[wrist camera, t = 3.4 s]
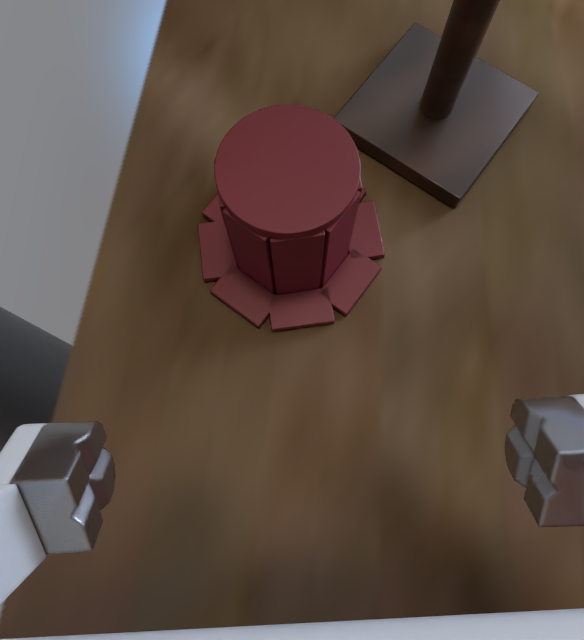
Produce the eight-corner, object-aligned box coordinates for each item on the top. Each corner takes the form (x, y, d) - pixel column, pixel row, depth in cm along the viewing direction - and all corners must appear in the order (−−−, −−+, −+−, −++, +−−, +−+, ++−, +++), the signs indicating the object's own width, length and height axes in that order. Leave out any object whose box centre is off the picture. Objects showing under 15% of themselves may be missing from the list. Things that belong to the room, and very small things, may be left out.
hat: (164, 259, 30) (118, 188, 23) (274, 134, 32) (266, 31, 25) (308, 365, 28) (312, 327, 21) (414, 226, 31) (453, 144, 23)
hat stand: (331, 131, 32) (356, -145, 18) (411, 36, 34) (494, -284, 20) (454, 209, 31) (593, -24, 16) (531, 105, 33) (718, -187, 18)
